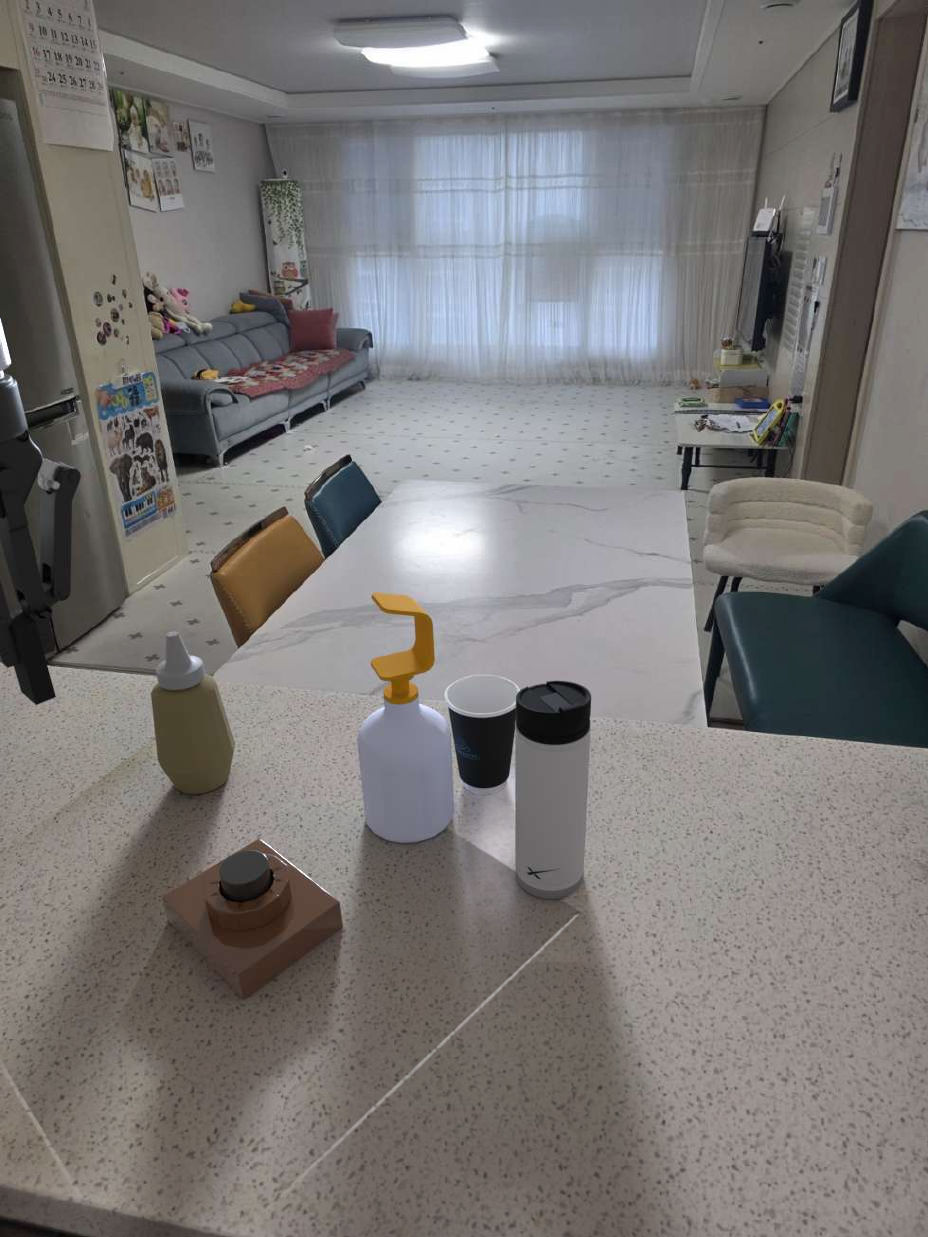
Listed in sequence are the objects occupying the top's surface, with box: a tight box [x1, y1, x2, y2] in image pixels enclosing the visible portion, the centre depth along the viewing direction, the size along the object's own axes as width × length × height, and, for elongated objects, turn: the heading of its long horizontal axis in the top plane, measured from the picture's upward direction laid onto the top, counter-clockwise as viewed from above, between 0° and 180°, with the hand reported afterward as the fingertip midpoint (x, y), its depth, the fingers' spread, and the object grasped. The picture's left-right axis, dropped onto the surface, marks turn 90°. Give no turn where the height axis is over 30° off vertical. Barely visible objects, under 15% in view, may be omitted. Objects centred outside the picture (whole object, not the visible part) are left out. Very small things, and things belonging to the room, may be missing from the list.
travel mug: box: [514, 680, 592, 900], centre depth 71 cm, size 6×7×20 cm
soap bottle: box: [356, 592, 455, 844], centre depth 79 cm, size 9×9×25 cm
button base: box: [161, 838, 344, 1001], centre depth 71 cm, size 12×10×5 cm
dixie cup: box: [443, 674, 521, 796], centre depth 86 cm, size 8×8×11 cm
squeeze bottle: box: [150, 630, 236, 795], centre depth 87 cm, size 8×8×18 cm
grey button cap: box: [219, 850, 271, 902], centre depth 69 cm, size 4×4×2 cm
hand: (38, 694), depth 63 cm, fingers closed
